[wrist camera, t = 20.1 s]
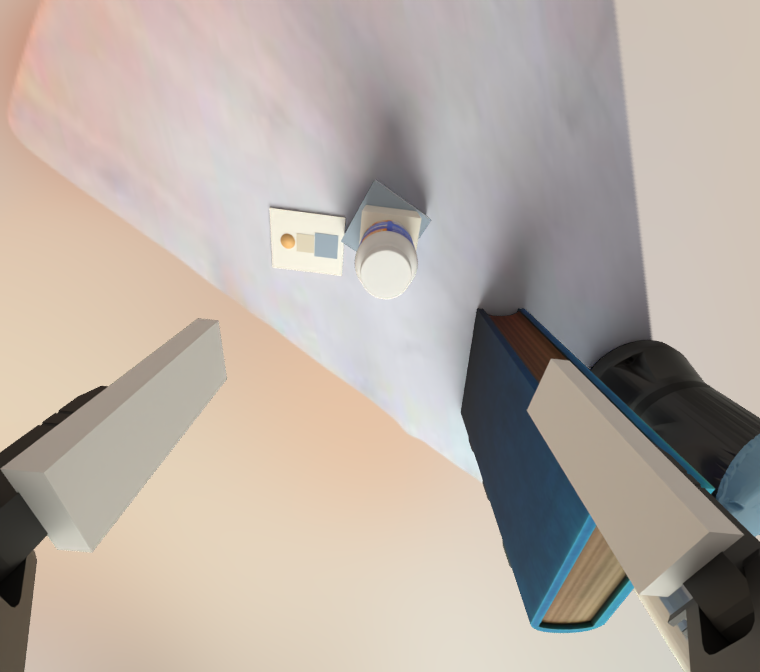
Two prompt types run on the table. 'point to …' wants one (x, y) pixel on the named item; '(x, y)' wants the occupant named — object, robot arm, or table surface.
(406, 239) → the pill bottle
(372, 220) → the cream cube
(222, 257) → the table surface
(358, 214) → the base block
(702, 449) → the robot arm
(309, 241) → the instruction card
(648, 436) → the book
